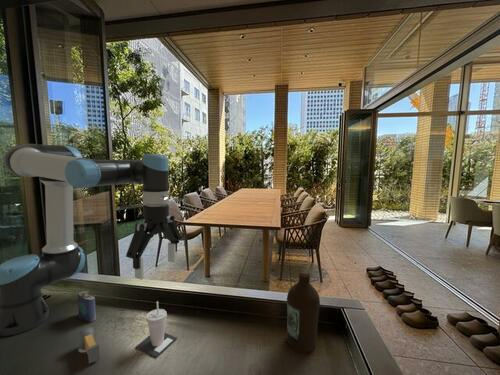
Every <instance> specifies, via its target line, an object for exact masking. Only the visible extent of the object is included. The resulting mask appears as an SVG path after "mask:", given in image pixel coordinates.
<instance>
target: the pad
mask: <svg viewBox="0 0 500 375" xmlns="http://www.w3.org/2000/svg"><path fill="white" fill-rule="evenodd" d="M177 340H178V337H176V336H174V335H171V334H169V333H166V332H164V342H163V343H162V344H161V345H160V346H152V343H151V338H150V335H148V336H147V337H146V338H145V339H143V340H142V341H141V342H139V343H138V344H137V345H136V346H135V349H137V350H139V351H141V352H143V353H145V354H148V355H149V356H152V357H153V358H155V359H157V358H159V357H160V355H162V354H163V353H164V352H165V351H166V350H167V349H168V348H169V347H171V345H172V344H173V343H174V342H176V341H177Z"/></svg>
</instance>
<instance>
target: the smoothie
mask: <svg viewBox="0 0 500 375" xmlns="http://www.w3.org/2000/svg"><path fill="white" fill-rule="evenodd" d="M159 307H160V306H159V301H158V300H157V301H156V308H155V309H152V310H151V311H149V312H148V313H147V314H146V315H145V321H146V322H147V327H148V331H149V336H150V338H151V343H152V346H160V345H161V344H162V343H163V342H164V333H166V332H165V330H166V321H167V320H166V319H167V316H168V314H167V311H166V310H165V309H164V308H159Z"/></svg>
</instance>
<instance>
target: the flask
mask: <svg viewBox="0 0 500 375" xmlns="http://www.w3.org/2000/svg"><path fill="white" fill-rule="evenodd" d="M77 303H78V304H77V305H78V307H77V308H78V318H79V319H80V320H83V321H85V322H87V323H94V322H96V320H97V314H96V313H97V312H96V297H95V296H93V295H90V294H89V290H87V291H86V290H83V291H80V292H78V293H77Z"/></svg>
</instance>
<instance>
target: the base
mask: <svg viewBox="0 0 500 375" xmlns="http://www.w3.org/2000/svg"><path fill="white" fill-rule="evenodd" d="M94 341H95V343H96V344H98V342H97V341H96V340H95V339H94ZM77 352H78V353H80V354H87V352H86V350H82V349H81V346H80V345H79V346H78V347H77Z"/></svg>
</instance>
